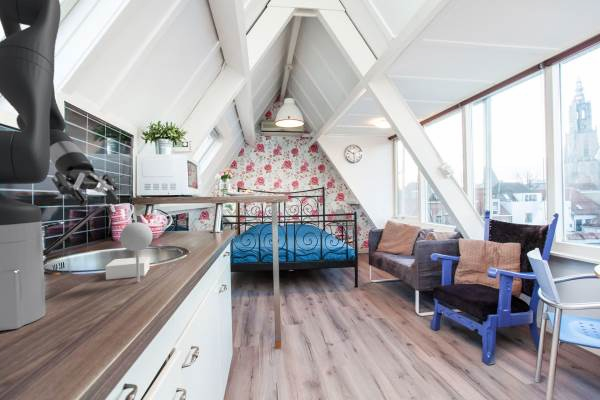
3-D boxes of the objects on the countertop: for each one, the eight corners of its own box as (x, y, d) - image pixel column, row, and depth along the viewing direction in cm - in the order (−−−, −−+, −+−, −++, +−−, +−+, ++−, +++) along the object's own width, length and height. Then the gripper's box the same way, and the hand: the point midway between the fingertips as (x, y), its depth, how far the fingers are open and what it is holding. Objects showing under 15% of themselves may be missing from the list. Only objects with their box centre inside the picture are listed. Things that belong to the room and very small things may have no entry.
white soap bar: (144, 275, 81) (144, 263, 81) (106, 279, 79) (105, 266, 78) (149, 268, 90) (149, 256, 90) (114, 271, 87) (114, 259, 87)
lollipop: (125, 279, 78) (123, 221, 78) (156, 277, 80) (154, 220, 80) (118, 288, 71) (116, 224, 71) (151, 284, 73) (149, 222, 73)
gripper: (46, 147, 76) (79, 193, 72) (102, 153, 89) (132, 192, 85) (34, 170, 78) (65, 215, 74) (90, 172, 91) (119, 211, 87)
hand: (101, 203), depth 79 cm, fingers open, 8 cm apart
